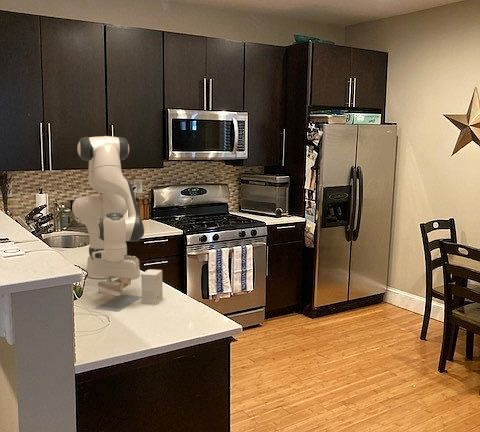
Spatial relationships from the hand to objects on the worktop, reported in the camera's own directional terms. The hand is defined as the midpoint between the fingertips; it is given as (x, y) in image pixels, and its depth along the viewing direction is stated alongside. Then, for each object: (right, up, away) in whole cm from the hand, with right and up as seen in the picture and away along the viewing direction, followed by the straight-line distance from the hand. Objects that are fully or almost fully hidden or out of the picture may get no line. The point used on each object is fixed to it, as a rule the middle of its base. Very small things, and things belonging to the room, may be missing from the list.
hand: (116, 287), depth 210 cm
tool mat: (+1, -7, +2) cm, 7 cm away
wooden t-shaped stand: (0, -1, +2) cm, 2 cm away
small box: (+14, -7, +4) cm, 16 cm away
